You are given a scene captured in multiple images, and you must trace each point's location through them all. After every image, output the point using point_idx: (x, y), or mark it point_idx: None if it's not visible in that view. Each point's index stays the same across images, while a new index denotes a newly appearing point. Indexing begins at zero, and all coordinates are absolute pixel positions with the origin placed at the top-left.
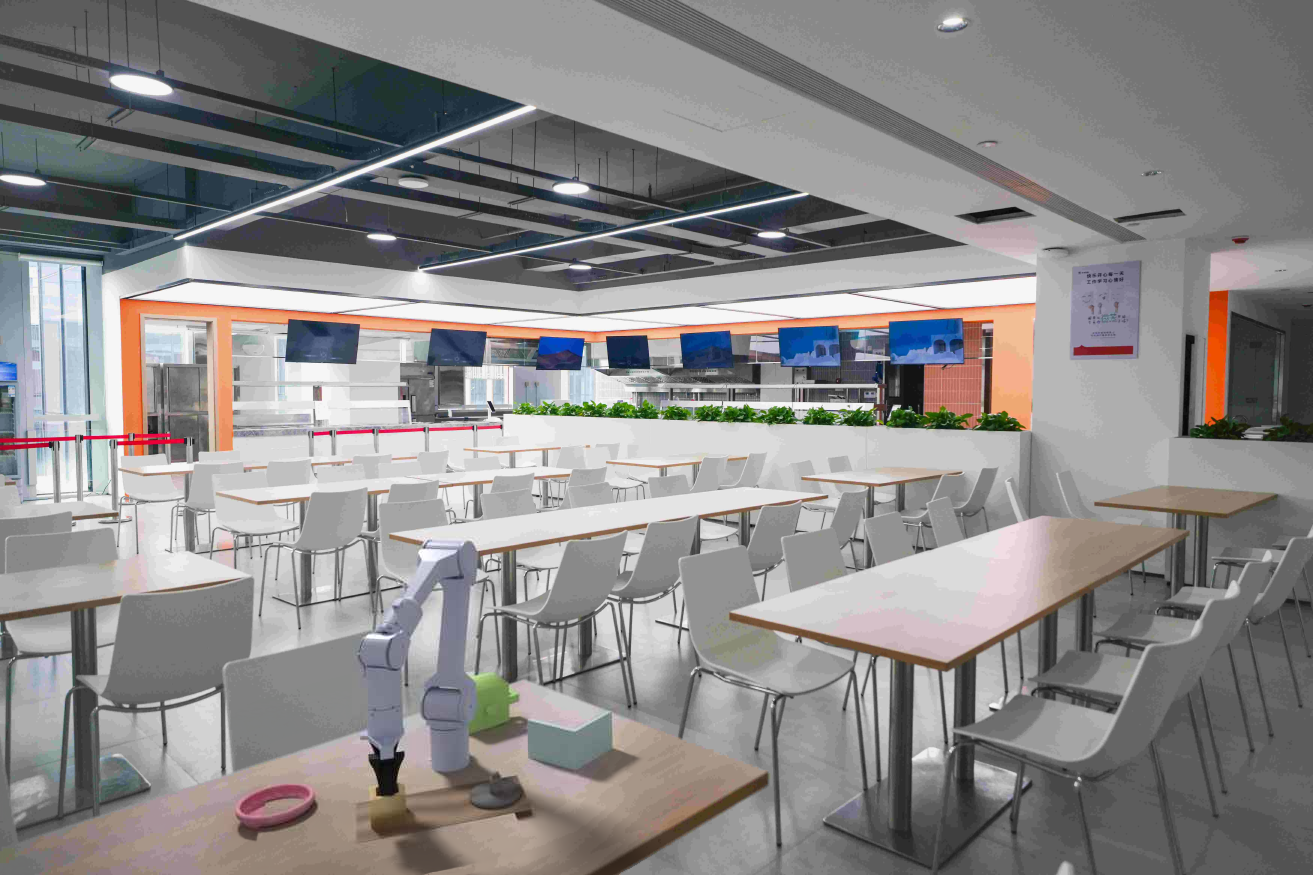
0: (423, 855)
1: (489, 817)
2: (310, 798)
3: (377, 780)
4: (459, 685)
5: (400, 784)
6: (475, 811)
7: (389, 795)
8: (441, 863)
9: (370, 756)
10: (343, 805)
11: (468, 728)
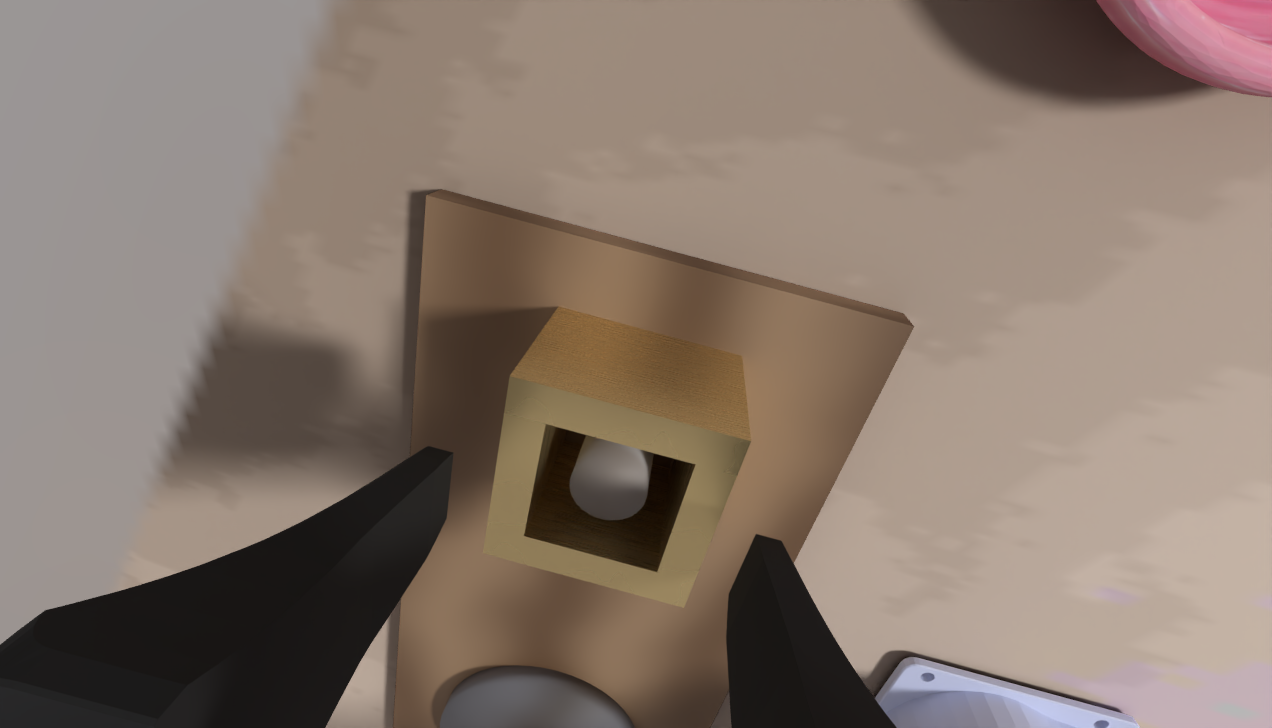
0: (266, 408)
1: (398, 660)
2: (1167, 26)
3: (326, 509)
4: None
5: (635, 575)
6: (465, 651)
7: (515, 485)
8: (187, 435)
9: (57, 712)
10: (1019, 262)
11: None
